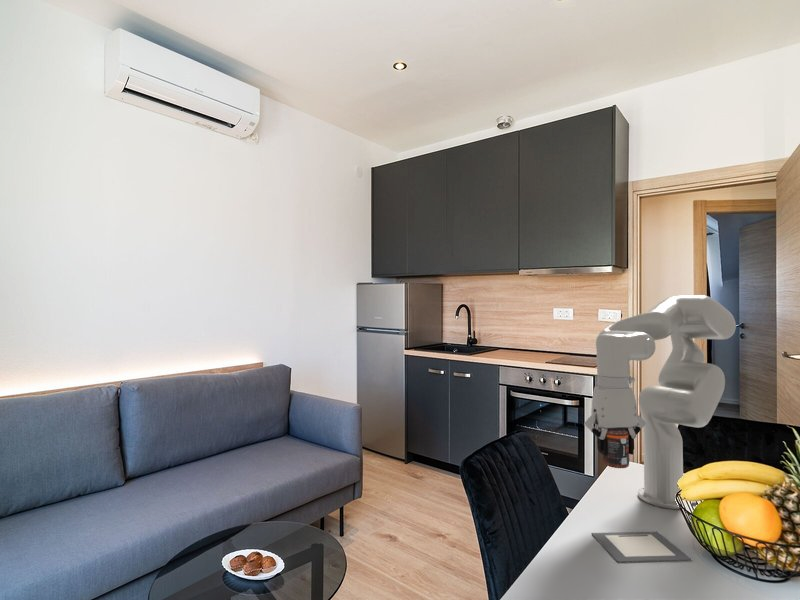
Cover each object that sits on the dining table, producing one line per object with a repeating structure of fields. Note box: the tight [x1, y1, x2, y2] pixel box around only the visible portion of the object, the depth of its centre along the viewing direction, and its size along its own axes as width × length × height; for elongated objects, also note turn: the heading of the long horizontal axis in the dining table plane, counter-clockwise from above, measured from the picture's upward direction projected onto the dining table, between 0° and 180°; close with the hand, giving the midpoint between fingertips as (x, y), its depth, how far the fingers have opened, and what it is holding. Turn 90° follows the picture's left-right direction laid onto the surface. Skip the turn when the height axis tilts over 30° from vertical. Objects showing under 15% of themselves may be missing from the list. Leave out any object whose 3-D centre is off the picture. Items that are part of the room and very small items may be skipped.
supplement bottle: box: [602, 428, 630, 469], centre depth 113 cm, size 6×6×11 cm
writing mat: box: [591, 530, 693, 564], centre depth 101 cm, size 16×12×1 cm
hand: (615, 452), depth 113 cm, fingers closed on supplement bottle, 6 cm apart
